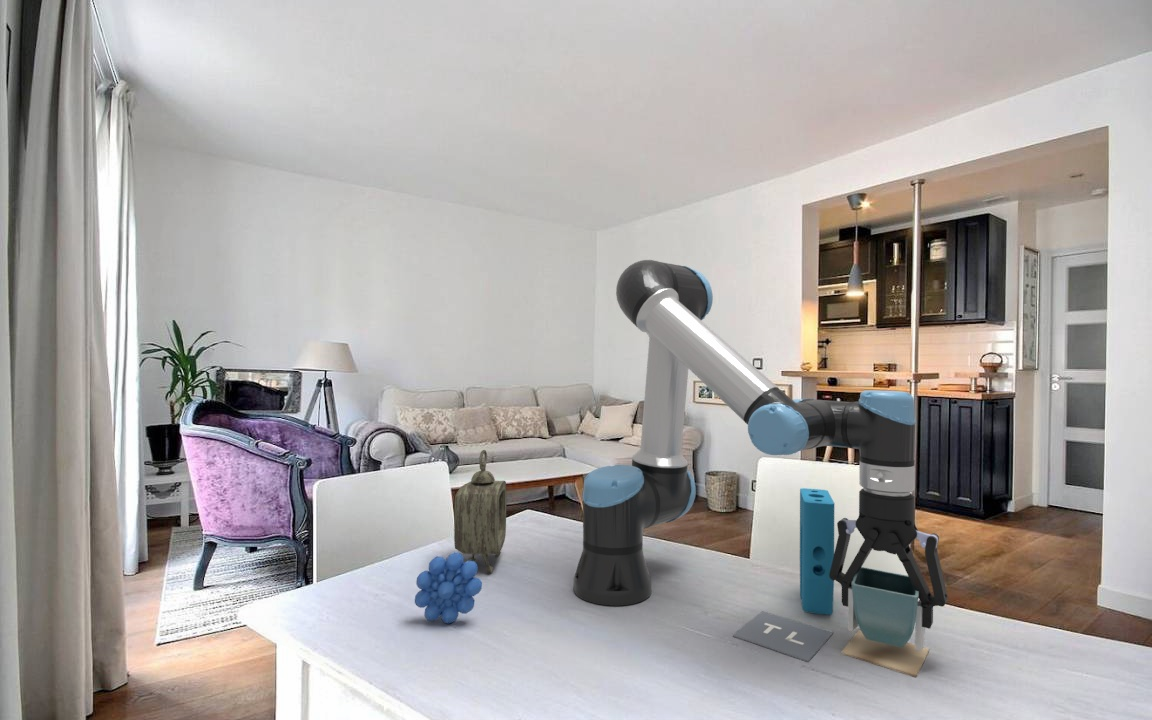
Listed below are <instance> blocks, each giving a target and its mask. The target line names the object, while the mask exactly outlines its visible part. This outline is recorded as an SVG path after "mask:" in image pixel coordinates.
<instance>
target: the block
mask: <svg viewBox="0 0 1152 720" xmlns="http://www.w3.org/2000/svg"><path fill="white" fill-rule="evenodd" d="M834 553H835V502H834V500H833V498H832V496H831V494H830V493H829V491H828V490H827V489H818V488H817V489H816V488H807V487H806V488H804V487H802V488H800V490H799V597H800V601H801V609H802V611H804V612H805V613H810V614H811V613H813V614H819V615H825V616H826V615H827V616H831V615H833V613H834V612H833V611H834V609H833V608H834V588H835V586H834V585H835V580H832V579H830V577H829V574H830V569H831V565H832V561H833V557H834Z"/></svg>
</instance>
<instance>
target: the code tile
mask: <svg viewBox="0 0 1152 720" xmlns="http://www.w3.org/2000/svg"><path fill="white" fill-rule="evenodd" d="M832 635H834V632H833V631H831V630H827V629H825V628H821V627H818V626H814V625H811V624H807V623H803V622H802V621H797V620H794V619H790V618H787V617H784V616H781V615H777V614H774V613H771V612H768V611H764V610H762V611H760V613H758V614H757V615H756V616H754V617H753V618H752V619H751V620H750V621H748V622H747V623H746V624H745V625H744V626H742V627H741V628H740V629H738V630H737V631H736V632H735V633H734V634H732V638H733V637H734V638H736V639H738V640H742V641H746V642H748V643H752V644H754V645H758V646H761V647H762V648H764V649H765V648H766V649H768V650H772V651H775V652H778V653H781V654H783V655H787V656H788V657H789V656H790V657H793V658H794V659H799V660H801V661H804V662H807V663H809V662H810V661H811V659H813V657H814V656H815V655H816V654H817V653H818V651H819V650H820V649H821V648H822V647H823V646H824V645H825V643H826V642H827V641H828V640H829V639H830V638H831V636H832Z"/></svg>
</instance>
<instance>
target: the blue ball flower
mask: <svg viewBox="0 0 1152 720" xmlns="http://www.w3.org/2000/svg"><path fill="white" fill-rule="evenodd" d="M463 556H464V555H462V554H461V552H452V553H451V554H449V555H448V556H447V558H446V559H445V557H443V556H437V555H436V556H435V557H434V558H432V559H431V560H430V561H429V563H428V570H424V571H422V572H420V573H419V574H418V575H417V577H416V581H415V583H416V586H417V588H418V589H420V590H419V591H417V593H416V594H415V596H414V604H415V605H416V606H417V607H418V608H422V609H423V608H424V618H425V619H426V620H427V621H429V622H435V621H436V620H437V619H439V618H441V621H442V622H443V623H445V624H452V623H453V622H455V621H456V620H457V619H458V617H459V613H460V614H463V615H464V614H468V613H470V612H471V611H472V610H473V609H474V607H475V598H474V597H475V596H476V595H478V594H479V593H480V592H481V590H482V586H483V582H482V580H481V579H480V578H479V577H475V576H476V575H477V573H478V567H479V566H478V564H477V562H474V561H468V560H467V561H465V562H464V557H463Z"/></svg>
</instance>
